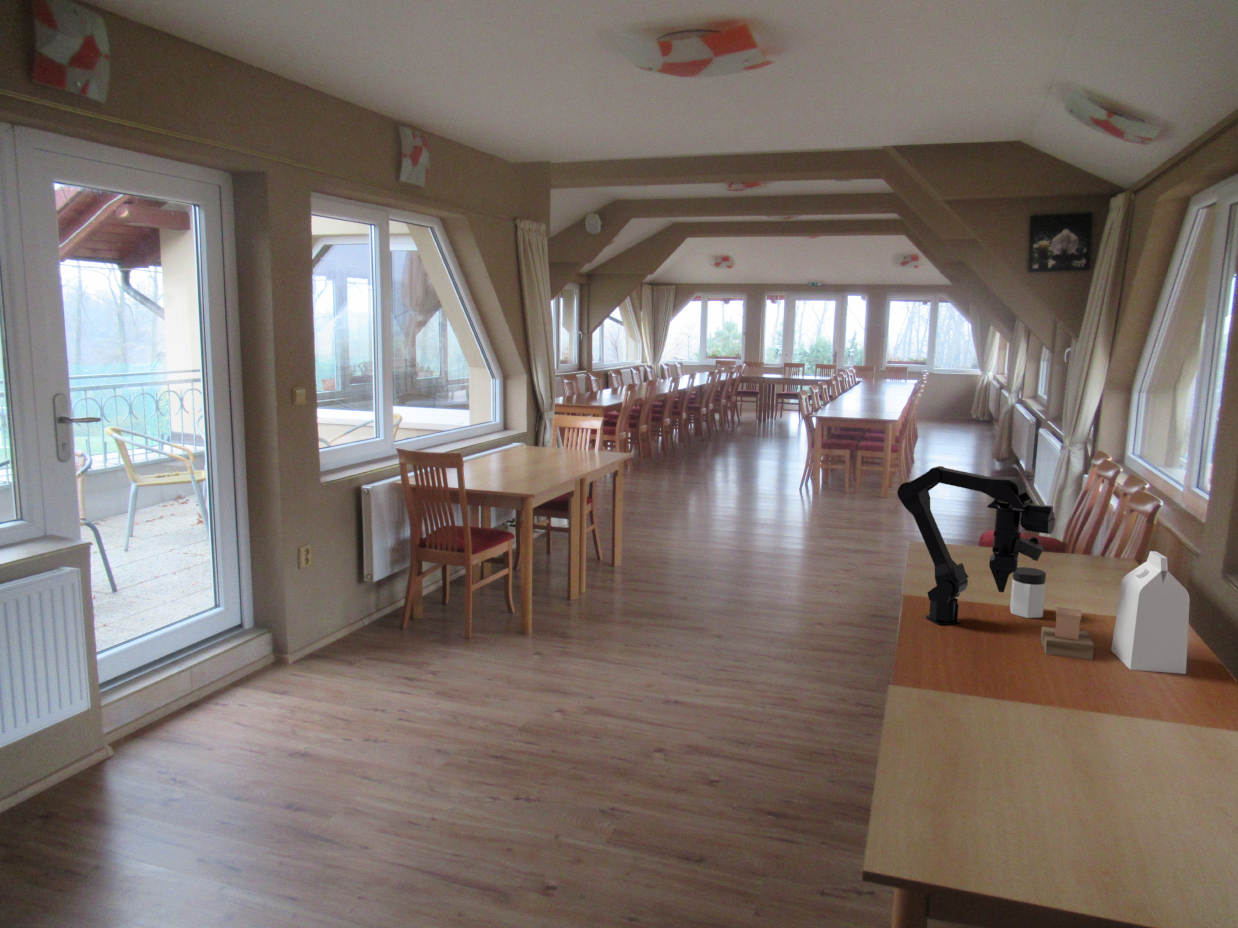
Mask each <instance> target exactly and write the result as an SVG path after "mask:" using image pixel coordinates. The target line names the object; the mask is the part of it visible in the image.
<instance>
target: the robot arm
mask: <svg viewBox="0 0 1238 928" xmlns="http://www.w3.org/2000/svg"><path fill="white" fill-rule="evenodd" d="M939 484H943V485H947V486H948V485H949V486H953V487H957V488H962V489H967V490H971V491H977V492H981V493H982V494H985V495H987V496H988V497H990V498H992V499H993V501H992V502H990V503H989V504H988V505H987V508H988V509H994V510H995V519H994V530H993V540H992V541H993V543H992V548H991V549H992V554H991V555H990V556H989V562H988V567H989V569H990V571H991V574H992V577H993V580H994V582H995V585H996V587H997V591H998V592H999V593H1005V590H1006V585H1007V583H1008V580H1009V576H1010V575H1011V574H1013V572H1015V571H1016V570H1017V568H1018V562H1019V559H1018V558H1019V554H1021V555H1023V556H1025V557H1028V558H1030V559H1031V560H1033V561H1035V562H1037V561H1039V559H1040V557H1041V555H1042V554H1043V552H1044V546H1043V545H1042V544H1039V543H1040V541H1039V538H1038V537H1036V536H1034V535H1032V536H1031V537H1029V538H1025V537H1022V536H1021V534H1022V533H1021V530H1020V527H1021V528H1023V529H1024V530H1025V531H1027V532H1034V533H1041V534H1045V535H1052V534H1053V531H1054V528H1055V524H1056V518H1055V512H1054V506H1053V505H1043V504H1042V505H1039V504H1034V503H1035V502H1034V500H1033V499H1032V498H1031V496H1030V495H1029V494H1028V492H1027V490H1026V484H1025V482H1024V481H1023V479H1021V478H1020V477H1017V476H1007V475H1006V476H1003V475H1002V476H1001V475H1000V476H986V475H982V474H981V475H980V474H978V473H977V474H976V473H972V472H967V471H962V470H957V469H953V468H952V469H951V468H947V467H944V466H943V465H942V466H941V465H938V466H935V467H931V468H930V469H929V470H928V471H926V472H925V473H923V474H921V475H920V476H918V477H917V478H915V479H912V480H909V481H906V482H903V483H902V484H900V485H899V487H898V489H897V491H896V493H897V497H898V499H899V500H900V502H901V503H902V505H903V506H904V508H905V509H906V510H907V511H908V512H909V513H910V514H911V515H912V516H913V518H914V521H915V523H916V525H917V528H918V530H919V532H920V535H921V538H922V540H923V542H924V544H925V546H926V548H927V551H928V554H929V557H930V558H931V561H932V563H933V566H934V579H935V580H934V581H935V584H936V585H935V586H934V587H933V588H931V589H930V590H929V591H927V597H928V600H929V612H928V613H929V614H927V615H925V618H926V619H928V620H929V621H931V622H933V623H934V624H936V625H938V626H941V625H942V626H944V625H953V624H954V625H955V624H961V621H960V620H959V618H958V617H959V603H958V602H959V601H958V600H959V599H958V597H960V594H961V593H962V592H964V591H965V590H966V589H967V587H968V585H969V580H968V579H969V578H970V576H969V574H967V572H966V570H965V566H964V564H963V563H962V562H961V563H959V564H957V563H956V562H955V561H954V560H953V558H952V557H951V555H950V554H951V553H950V552H949V550H948V547H947V545H946V543H945V541H944V538H943V536H942V533H941V531H940V529H939V527H938V524H937V521H936V519H935V517H934V515H933V513H932V510H931V495H930V492H929V491H931V490H932V489H933V488H935V487H936V486H938V485H939Z"/></svg>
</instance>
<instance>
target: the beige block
mask: <svg viewBox="0 0 1238 928" xmlns="http://www.w3.org/2000/svg"><path fill="white" fill-rule="evenodd" d="M1055 628H1056V627H1049V626H1041V633H1040V642H1041V645H1042V648H1043V650H1044V651H1043V652H1044V654H1045V655H1049V656H1057V657H1066V658H1074V659H1083V660H1090V661H1093V659H1094V649H1095V648H1094V647H1095V645H1094V643H1093V641H1092V638H1091V637H1090V635H1089V633H1088V631H1087V630H1079V637H1078V640H1074V639H1067V638H1061V637H1055Z"/></svg>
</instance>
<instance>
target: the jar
mask: <svg viewBox="0 0 1238 928" xmlns="http://www.w3.org/2000/svg"><path fill="white" fill-rule="evenodd" d="M1046 577H1047V573H1046V572H1045V571H1044V570H1042V569H1039V568H1033V567H1027V566H1026V567H1025V566H1022V567H1017V570H1016V571H1015V572H1012V579H1011V589H1010V590H1011V593H1010V604H1009V610H1010V614H1011V615H1013V616H1018V617H1022V618H1026V619H1038V618H1043V617H1044V610H1045V609H1044V608H1045V607H1044V606H1045V596H1046V579H1047V578H1046Z"/></svg>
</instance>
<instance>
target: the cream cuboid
mask: <svg viewBox="0 0 1238 928" xmlns="http://www.w3.org/2000/svg"><path fill="white" fill-rule="evenodd" d="M1055 619H1056V620H1055V627H1054V628H1055V637H1061V638H1067V639H1074V640H1078V637H1079V631H1080V625H1081V621H1082V609H1076V608H1068V607H1061V606H1056V609H1055Z"/></svg>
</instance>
